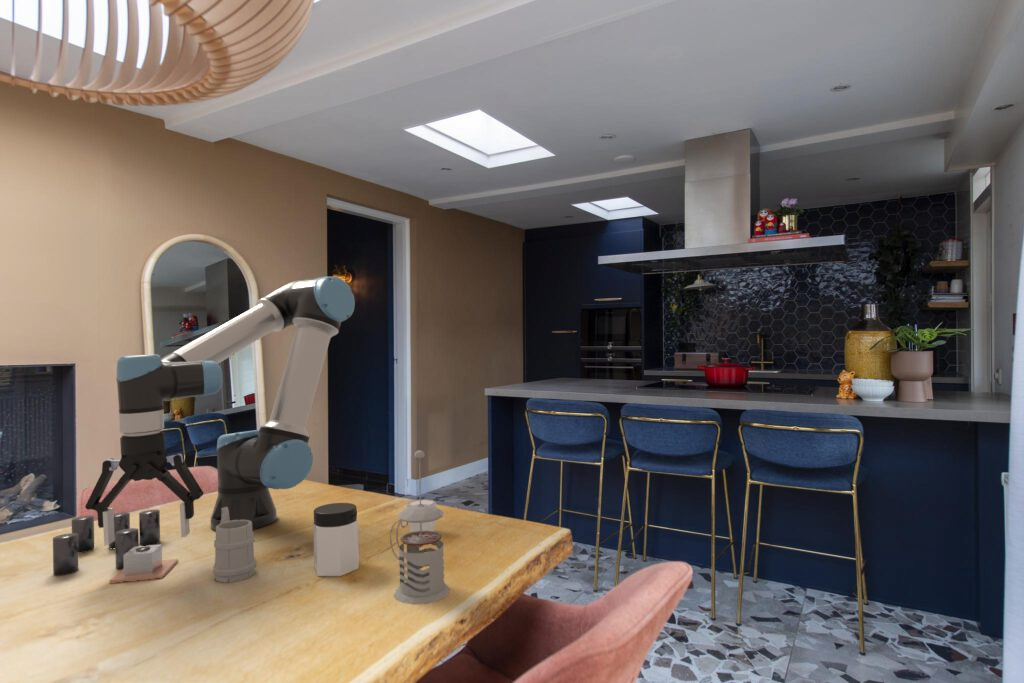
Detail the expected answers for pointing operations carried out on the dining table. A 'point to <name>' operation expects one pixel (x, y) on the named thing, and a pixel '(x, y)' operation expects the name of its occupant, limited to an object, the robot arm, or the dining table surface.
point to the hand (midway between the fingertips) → (148, 539)
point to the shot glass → (425, 526)
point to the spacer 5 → (149, 527)
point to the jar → (335, 539)
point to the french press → (420, 555)
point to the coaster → (156, 574)
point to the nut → (142, 560)
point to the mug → (233, 549)
